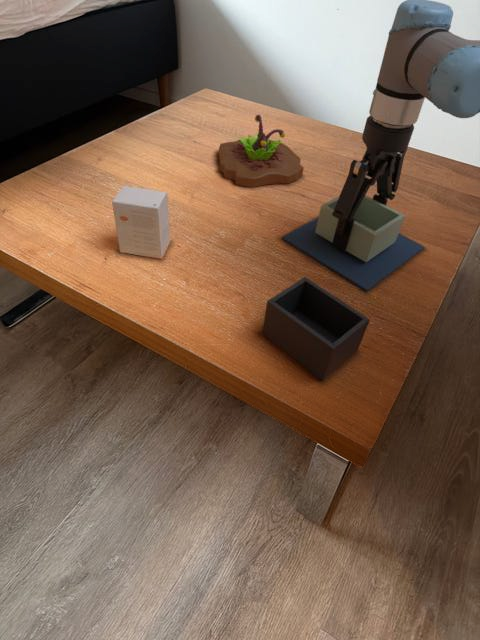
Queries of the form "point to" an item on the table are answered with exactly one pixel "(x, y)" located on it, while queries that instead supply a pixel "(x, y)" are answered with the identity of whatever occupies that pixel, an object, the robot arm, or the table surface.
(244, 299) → the table surface
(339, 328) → the bin lower
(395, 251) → the mat
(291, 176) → the plant
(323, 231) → the green open bin
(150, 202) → the small box
